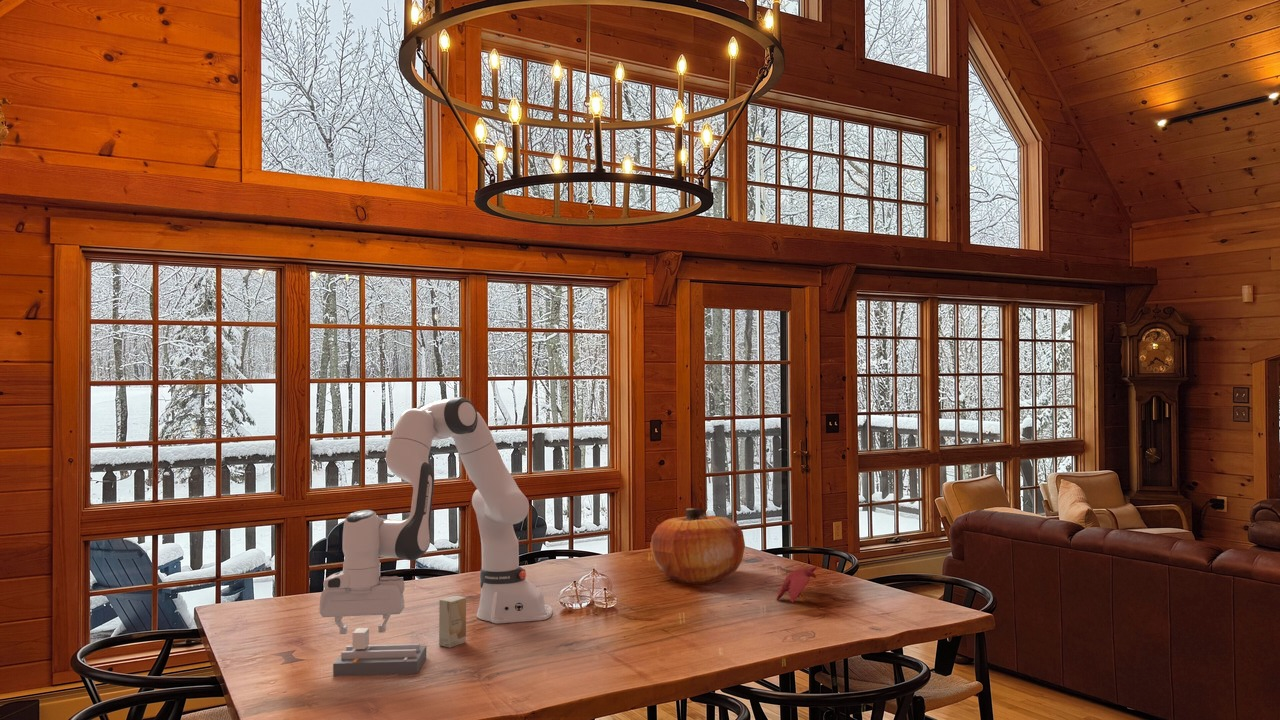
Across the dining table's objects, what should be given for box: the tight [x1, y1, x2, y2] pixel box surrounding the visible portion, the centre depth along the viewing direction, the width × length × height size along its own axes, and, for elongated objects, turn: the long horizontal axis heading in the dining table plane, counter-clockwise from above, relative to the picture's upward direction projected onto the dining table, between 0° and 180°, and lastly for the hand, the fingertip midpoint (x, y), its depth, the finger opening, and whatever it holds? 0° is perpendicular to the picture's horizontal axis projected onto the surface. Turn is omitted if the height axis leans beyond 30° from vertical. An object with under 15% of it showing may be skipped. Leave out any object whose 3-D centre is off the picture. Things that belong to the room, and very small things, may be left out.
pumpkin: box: [650, 507, 746, 585], centre depth 305 cm, size 33×33×25 cm
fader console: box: [332, 643, 427, 677], centre depth 215 cm, size 20×12×5 cm, turn 93°
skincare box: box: [438, 595, 467, 648], centre depth 233 cm, size 6×4×12 cm
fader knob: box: [351, 627, 370, 651], centre depth 215 cm, size 4×4×6 cm
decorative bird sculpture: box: [776, 566, 817, 603], centre depth 273 cm, size 28×9×15 cm
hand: (362, 632), depth 215 cm, fingers open, 8 cm apart
